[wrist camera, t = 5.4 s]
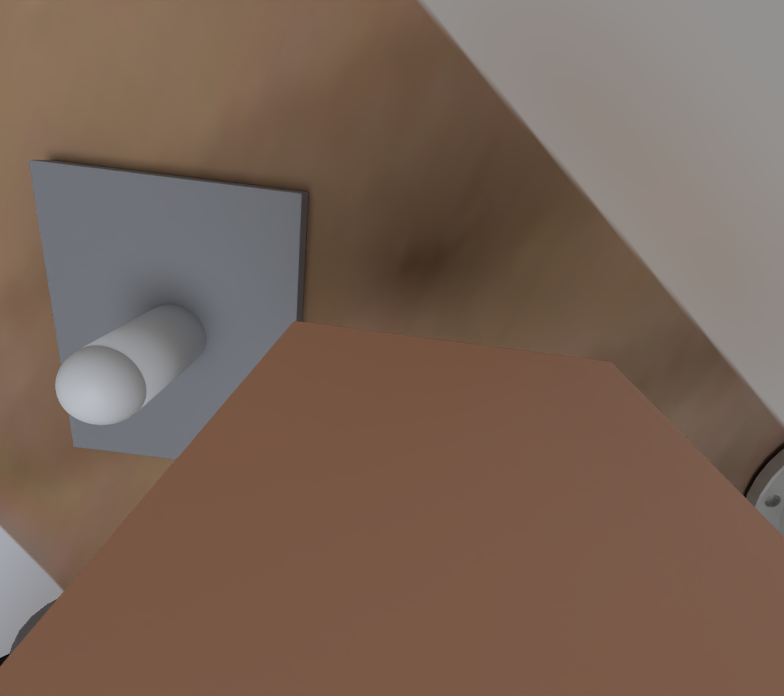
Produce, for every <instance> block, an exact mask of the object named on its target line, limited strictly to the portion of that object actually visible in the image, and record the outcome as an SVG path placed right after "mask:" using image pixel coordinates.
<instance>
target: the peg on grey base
mask: <svg viewBox="0 0 784 696" xmlns="http://www.w3.org/2000/svg"><path fill="white" fill-rule="evenodd" d="M29 166H30V172H31V179H32V185H33V191H34V198H35V204H36V210H37V217H38V223H39V229H40V236H41V242H42V248H43V255H44V261H45V267H46V274H47V280H48V286H49V293H50V299H51V305H52V312H53V318H54V324H55V331H56V337H57V343H58V350H59V356H60V362H61V367H60V369H59V371H58V374H57V377H56V385H55V388H56V394H57V397H58V400H59V402H60V404H61V405H62V407H63V408H64V409H65V410H66V411H67V412H68V413H69V419H70V426H71V432H72V438H73V445H74V447H81V448H89V449H97V450H105V451H113V452H121V453H129V454H137V455H146V456H154V457H162V458H170V459H177V458H178V457H179V456H180V454H181V453H182V452H183V451H184V450H185V448H186V447H187V446H188V445H189V444H190V443H191V441H192V440H193V439H194V438H195V437H196V436H197V434H198V433H199V432H200V431H201V430H202V428H203V427H204V426H205V425H206V424H207V423H208V421H209V420H210V419H211V418H212V417H213V416H214V414H215V413H216V412H217V411H218V410H219V408H220V407H221V406H222V405H223V404H224V403H225V401H226V400H227V399H228V398H229V397H230V396H231V394H232V393H233V392H234V391H235V390H236V388H237V387H238V386H239V385H240V384H241V383H242V381H243V380H244V379H245V378H246V377H247V376H248V374H249V373H250V372H251V371H252V370H253V368H254V367H255V366H256V365H257V364H258V363H259V361H260V360H261V359H262V358H263V357H264V356H265V354H266V353H267V352H268V351H269V350H270V348H271V347H272V346H273V345H274V344H275V343H276V341H277V340H278V339H279V338H280V337H281V336H282V334H283V333H284V332H285V331H286V330H287V329H288V327H289V326H290V325H291V324H292V323H293V321H299V322H302V316H303V295H304V274H305V253H306V232H307V211H308V192H304V191H296V190H287V189H279V188H271V187H263V186H255V185H247V184H239V183H231V182H223V181H215V180H207V179H199V178H191V177H183V176H175V175H167V174H158V173H150V172H142V171H134V170H126V169H118V168H110V167H102V166H94V165H86V164H78V163H70V162H62V161H54V160H29Z"/></svg>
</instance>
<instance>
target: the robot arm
mask: <svg viewBox="0 0 784 696" xmlns="http://www.w3.org/2000/svg"><path fill="white" fill-rule="evenodd" d="M746 499H747V500H748V501H749V502H750V503H751V504H752V505H753V506H754V507H755V508H756V509H757V510H758V511H759V512H760V513H761V514H762V515H763V516H764V517H765V518H766V519H767V520H768V521H769V522H770V523H771V524H772V525H773V526H774V527H775V528H776V529H777V530H778V531H779V532H780V533H781V534H782V535H783V536H784V449H782V450H781V451H780V452H779V453H778V454H777V455H776V456H775V457H774V458H772V459H771V460H770V461H769V462H768V463H767V465H766V466H765V467H764V468H763V470H762V471H761V472H760V473H759V475H758V476H757V477H756V479H755V481H754V482H753V484H752V486H751V488H750V490H749V492H748V493H747V496H746ZM56 600H57V599H56ZM56 600H54V601H53V602H51V603H49V604H47V605H46V606H44V607H43V608H42V609H41V610H39V611H38V612H37V613H35V614H34V615H33V616H32V617H31V618H30V619H29V620H28V621H27V622H26V624H25V625H24V626H23V627H22V628H21V630H20V631H19V633H18V635H17V637H16V639H15V641H14V643H13V645H12V648H11V651H10V654H11V653H12V652H13V651H14V650H15V648H16V647H17V646H18V645H19V644H20V643H21V641H22V640H23V639H24V638H25V637H26V635H27V634H28V633H29V632H30V631H31V630H32V628H33V627H34V626H35V625H36V624H37V623H38V621H39V620H40V619H41V618H42V617H43V615H44V614H45V613H46V612H47V611H48V610H49V608H50V607H51V606H52V605H53V604H54V603H55V601H56ZM10 654H8V655H5V656H3V657H1V658H0V666H1V665H2V664H3V662H4V661H5V660H6V659H7V658H8V657H9V655H10Z"/></svg>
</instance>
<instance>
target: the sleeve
mask: <svg viewBox="0 0 784 696" xmlns="http://www.w3.org/2000/svg"><path fill="white" fill-rule="evenodd" d="M0 696H784V536H783V535H782V534H781V533H780V532H779V531H778V530H777V529H776V528H775V527H774V526H773V525H772V524H771V523H770V522H769V521H768V520H767V519H766V518H765V517H764V516H763V515H762V514H761V513H760V512H759V511H758V510H757V509H756V508H755V507H754V506H753V505H752V504H751V503H750V502H749V501H748V500H747V499H746V498H745V497H744V496H743V495H742V494H741V493H740V492H739V491H738V490H737V489H736V488H735V487H734V486H733V485H732V484H731V483H730V482H729V481H728V480H727V479H726V478H725V477H724V475H723V474H722V473H721V472H720V471H719V470H718V469H717V468H716V467H715V466H714V465H713V464H712V463H711V462H710V461H709V460H708V459H707V458H706V457H705V456H704V455H703V454H702V453H701V452H700V451H699V450H698V449H697V448H696V447H695V446H694V445H693V444H692V443H691V442H690V441H689V440H688V439H687V438H686V437H685V436H684V435H683V434H682V433H681V432H680V431H679V430H678V429H677V428H676V427H675V426H674V425H673V424H672V423H671V422H670V421H669V420H668V419H667V418H666V417H665V416H664V415H663V414H662V413H661V412H660V411H659V410H658V409H657V408H656V407H655V406H654V405H653V404H652V403H651V401H650V400H649V399H648V398H647V397H646V396H645V395H644V394H643V393H642V392H641V391H640V390H639V389H638V388H637V387H636V386H635V385H634V384H633V383H632V382H631V381H630V380H629V379H628V378H627V377H626V376H625V375H624V374H623V373H622V372H621V371H620V370H619V369H618V368H617V367H616V366H615V365H614V364H613V363H612V362H607V361H599V360H591V359H584V358H576V357H568V356H561V355H553V354H545V353H537V352H530V351H522V350H514V349H507V348H499V347H491V346H484V345H476V344H468V343H460V342H453V341H445V340H437V339H430V338H422V337H414V336H407V335H399V334H391V333H383V332H376V331H368V330H360V329H353V328H345V327H337V326H330V325H322V324H314V323H306V322H299V321H293V323H292V324H291V325H290V326H289V327H288V329H287V330H286V331H285V332H284V333H283V334H282V336H281V337H280V338H279V339H278V340H277V341H276V343H275V344H274V345H273V346H272V347H271V348H270V350H269V351H268V352H267V353H266V354H265V356H264V357H263V358H262V359H261V360H260V361H259V363H258V364H257V365H256V366H255V367H254V368H253V370H252V371H251V372H250V373H249V374H248V376H247V377H246V378H245V379H244V380H243V381H242V383H241V384H240V385H239V386H238V387H237V388H236V390H235V391H234V392H233V393H232V394H231V396H230V397H229V398H228V399H227V400H226V401H225V403H224V404H223V405H222V406H221V407H220V408H219V410H218V411H217V412H216V413H215V414H214V416H213V417H212V418H211V419H210V420H209V421H208V423H207V424H206V425H205V426H204V427H203V428H202V430H201V431H200V432H199V433H198V434H197V436H196V437H195V438H194V439H193V440H192V441H191V443H190V444H189V445H188V446H187V447H186V448H185V450H184V451H183V452H182V453H181V454H180V456H179V457H178V458H177V459H176V460H175V461H174V463H173V464H172V465H171V466H170V467H169V468H168V470H167V471H166V472H165V473H164V474H163V476H162V477H161V478H160V479H159V480H158V481H157V483H156V484H155V485H154V486H153V487H152V488H151V490H150V491H149V492H148V493H147V494H146V495H145V497H144V498H143V499H142V500H141V501H140V503H139V504H138V505H137V506H136V507H135V508H134V510H133V511H132V512H131V513H130V514H129V515H128V517H127V518H126V519H125V520H124V521H123V523H122V524H121V525H120V526H119V527H118V528H117V530H116V531H115V532H114V533H113V534H112V535H111V537H110V538H109V539H108V540H107V541H106V543H105V544H104V545H103V546H102V547H101V548H100V550H99V551H98V552H97V553H96V554H95V555H94V557H93V558H92V559H91V560H90V561H89V563H88V564H87V565H86V566H85V567H84V568H83V570H82V571H81V572H80V573H79V574H78V575H77V577H76V578H75V579H74V580H73V581H72V583H71V584H70V585H69V586H68V587H67V588H66V590H65V591H64V592H63V593H62V594H61V596H60V597H59V598H58V599H57V600H56V601H55V603H54V604H53V605H52V606H51V607H50V608H49V610H48V611H47V612H46V613H45V614H44V615H43V617H42V618H41V619H40V620H39V621H38V623H37V624H36V625H35V626H34V627H33V628H32V630H31V631H30V632H29V633H28V634H27V635H26V637H25V638H24V639H23V640H22V641H21V643H20V644H19V645H18V646H17V647H16V648H15V650H14V651H13V652H12V653H11V654H10V655H9V657H8V658H7V659H6V660H5V661H4V662H3V664H2V665H1V666H0Z"/></svg>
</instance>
